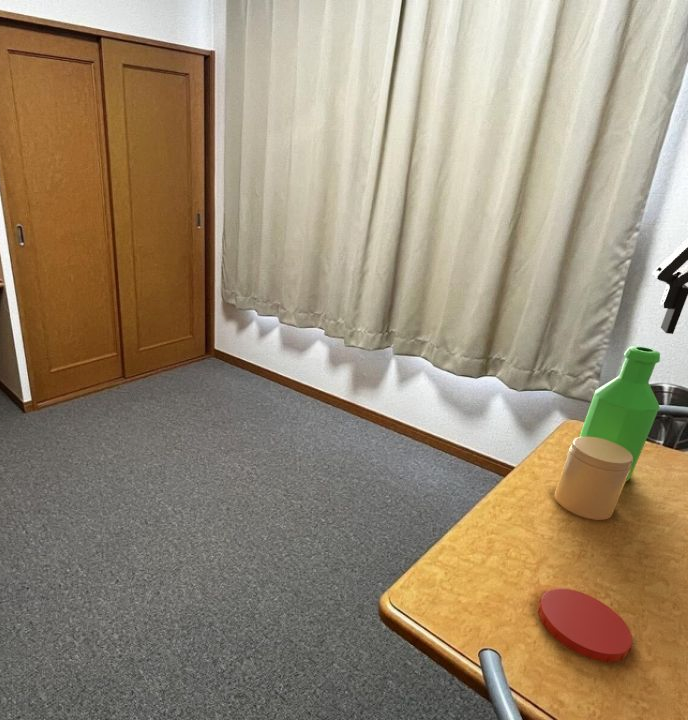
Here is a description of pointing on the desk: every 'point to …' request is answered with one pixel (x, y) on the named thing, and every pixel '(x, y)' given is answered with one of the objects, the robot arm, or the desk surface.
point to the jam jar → (593, 477)
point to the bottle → (626, 404)
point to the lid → (585, 625)
